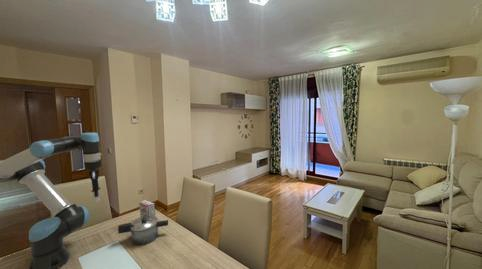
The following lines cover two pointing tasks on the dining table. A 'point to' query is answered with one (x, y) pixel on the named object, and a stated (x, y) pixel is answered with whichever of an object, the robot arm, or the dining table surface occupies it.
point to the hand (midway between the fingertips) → (97, 201)
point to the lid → (140, 224)
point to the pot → (145, 234)
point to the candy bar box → (147, 208)
